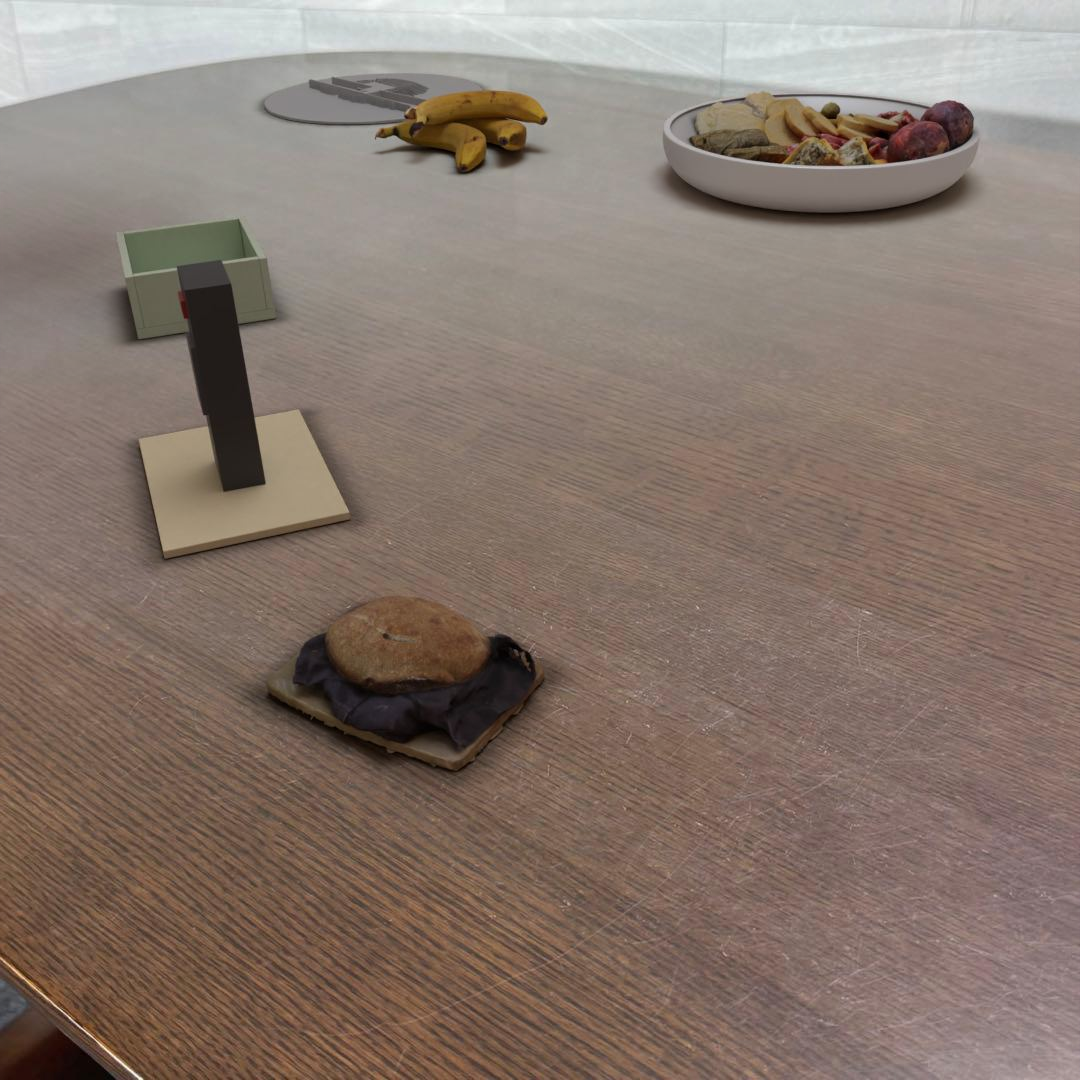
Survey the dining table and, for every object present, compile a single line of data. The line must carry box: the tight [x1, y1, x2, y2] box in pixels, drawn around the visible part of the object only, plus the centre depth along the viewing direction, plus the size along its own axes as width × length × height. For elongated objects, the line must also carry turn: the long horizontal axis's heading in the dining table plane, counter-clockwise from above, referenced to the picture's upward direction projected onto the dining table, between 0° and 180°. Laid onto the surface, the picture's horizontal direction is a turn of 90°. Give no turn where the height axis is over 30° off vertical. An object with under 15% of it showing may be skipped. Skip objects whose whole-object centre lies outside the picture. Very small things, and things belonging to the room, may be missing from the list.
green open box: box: [115, 215, 277, 340], centre depth 93 cm, size 10×11×5 cm
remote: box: [177, 260, 266, 492], centre depth 67 cm, size 3×4×12 cm
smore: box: [265, 595, 546, 772], centre depth 53 cm, size 11×8×4 cm
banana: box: [374, 89, 548, 173], centre depth 129 cm, size 15×19×6 cm
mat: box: [138, 409, 351, 560], centre depth 70 cm, size 14×10×1 cm
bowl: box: [662, 90, 981, 214], centre depth 117 cm, size 30×30×8 cm
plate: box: [264, 72, 484, 125], centre depth 155 cm, size 28×28×1 cm
